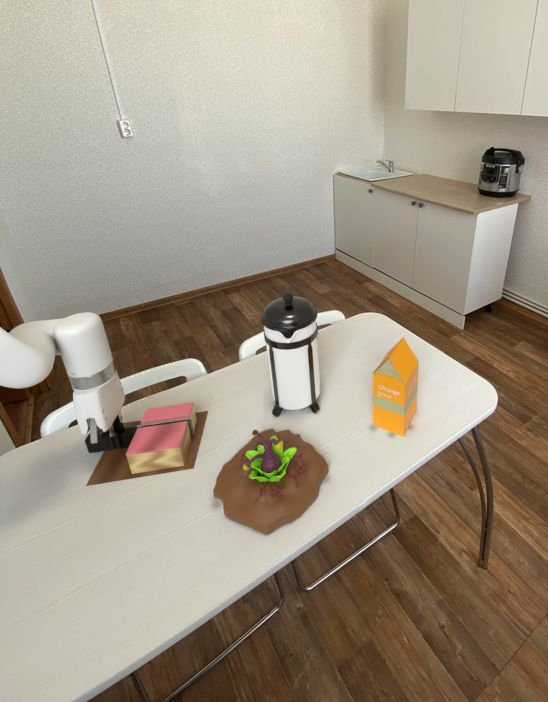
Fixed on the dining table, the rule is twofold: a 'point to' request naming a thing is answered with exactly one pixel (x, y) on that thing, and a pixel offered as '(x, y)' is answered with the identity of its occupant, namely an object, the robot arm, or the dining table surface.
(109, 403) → the robot arm
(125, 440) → the knife
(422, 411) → the dining table surface
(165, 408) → the cake slice
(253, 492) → the plant
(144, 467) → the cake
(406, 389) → the orange juice
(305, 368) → the coffee press
